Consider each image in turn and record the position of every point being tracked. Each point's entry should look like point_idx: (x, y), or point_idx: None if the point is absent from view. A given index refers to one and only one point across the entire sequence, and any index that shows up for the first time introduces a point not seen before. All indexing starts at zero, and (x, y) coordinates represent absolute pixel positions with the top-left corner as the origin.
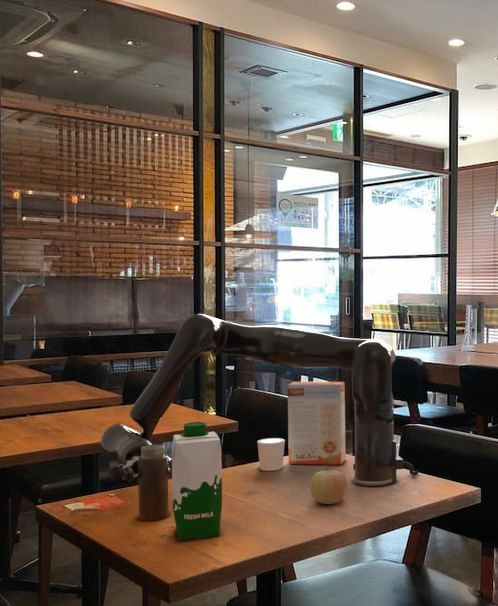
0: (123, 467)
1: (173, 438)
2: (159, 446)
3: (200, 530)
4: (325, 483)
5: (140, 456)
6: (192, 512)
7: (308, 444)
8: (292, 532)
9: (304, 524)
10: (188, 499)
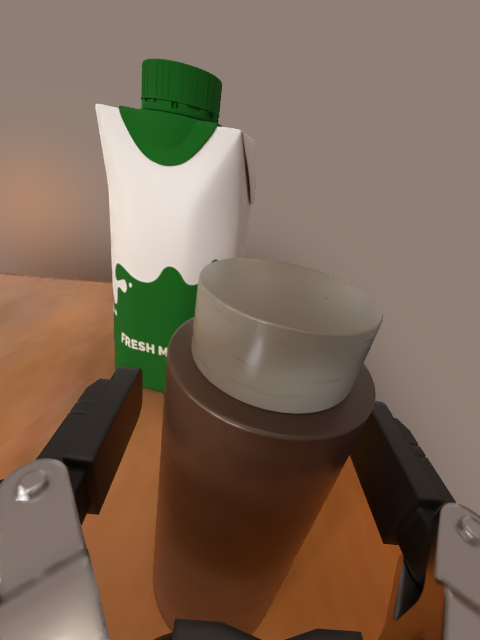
0: (471, 512)
1: (245, 144)
2: (240, 274)
3: None
4: None
5: (365, 407)
6: None
7: None
8: (60, 297)
9: (9, 302)
10: None
